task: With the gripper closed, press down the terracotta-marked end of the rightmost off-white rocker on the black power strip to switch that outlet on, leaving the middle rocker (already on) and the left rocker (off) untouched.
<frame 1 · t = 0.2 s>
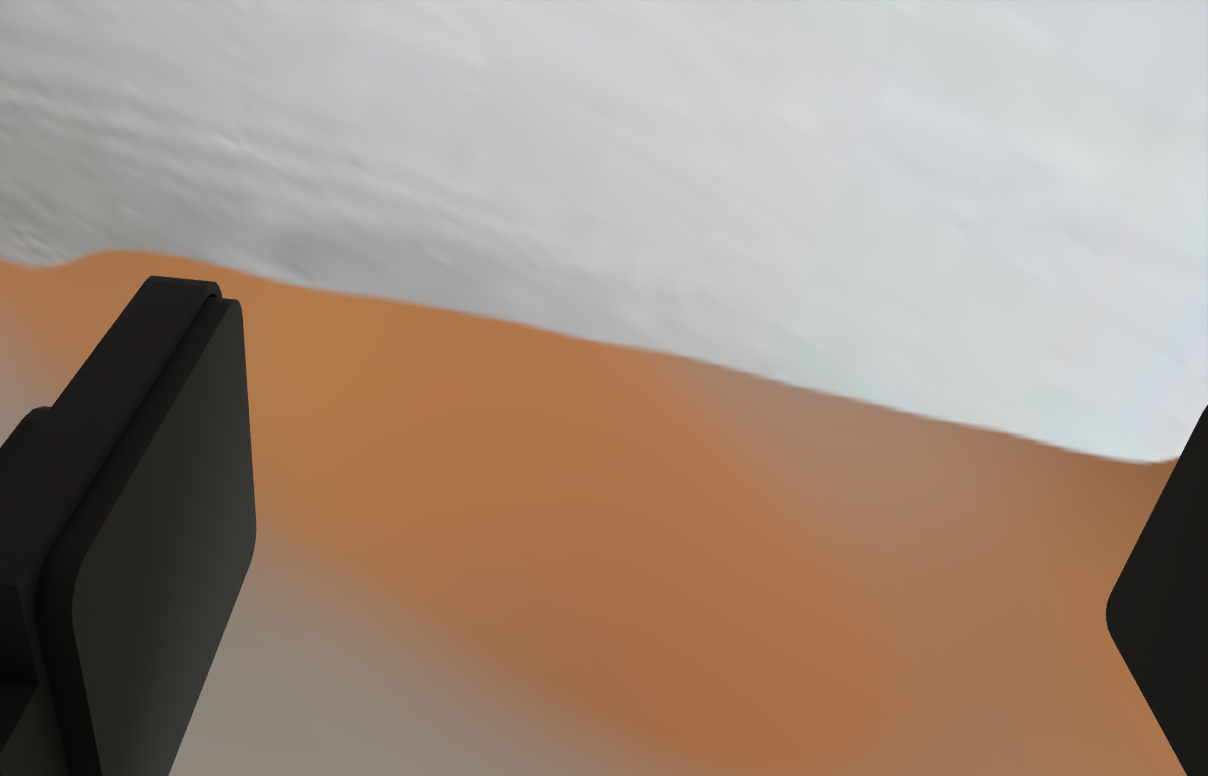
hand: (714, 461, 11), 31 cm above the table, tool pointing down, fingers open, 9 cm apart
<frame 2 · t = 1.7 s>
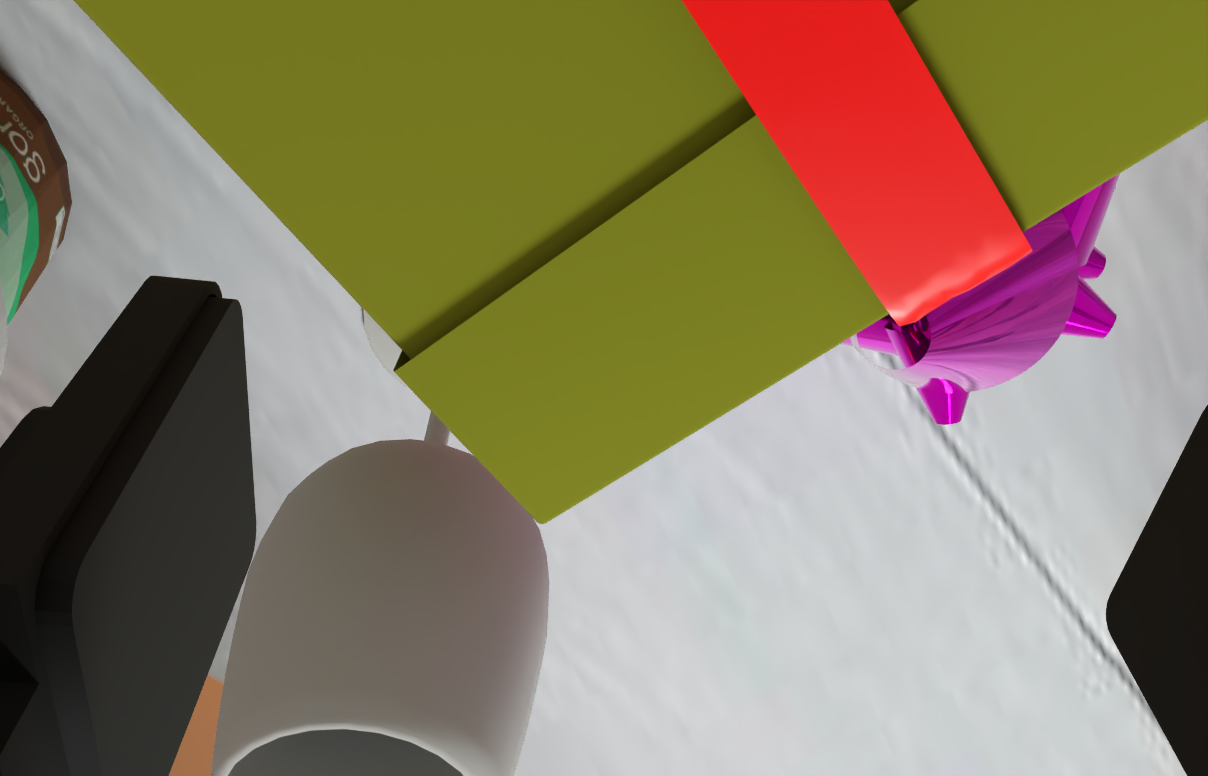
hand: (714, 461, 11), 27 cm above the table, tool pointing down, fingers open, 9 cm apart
wineglass: (462, 317, 40), on the table
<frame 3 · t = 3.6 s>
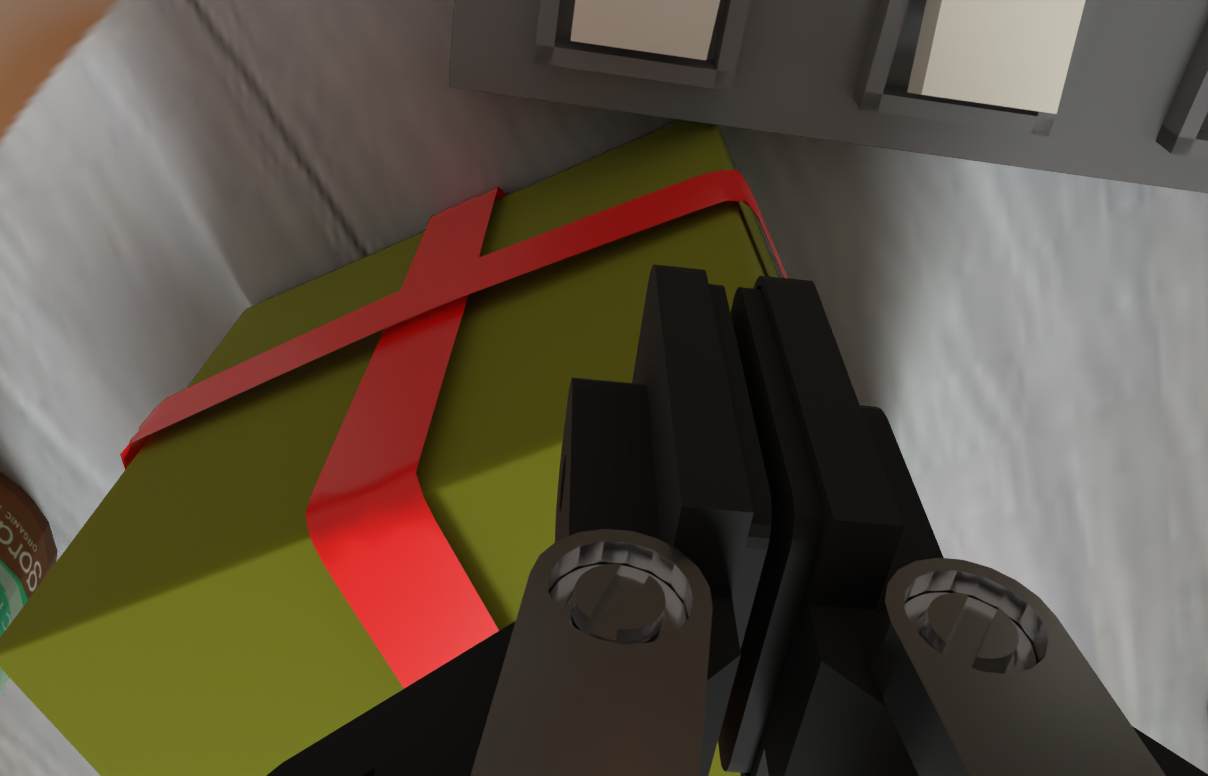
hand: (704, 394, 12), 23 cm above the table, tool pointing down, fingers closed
gift box: (605, 451, 41), on the table
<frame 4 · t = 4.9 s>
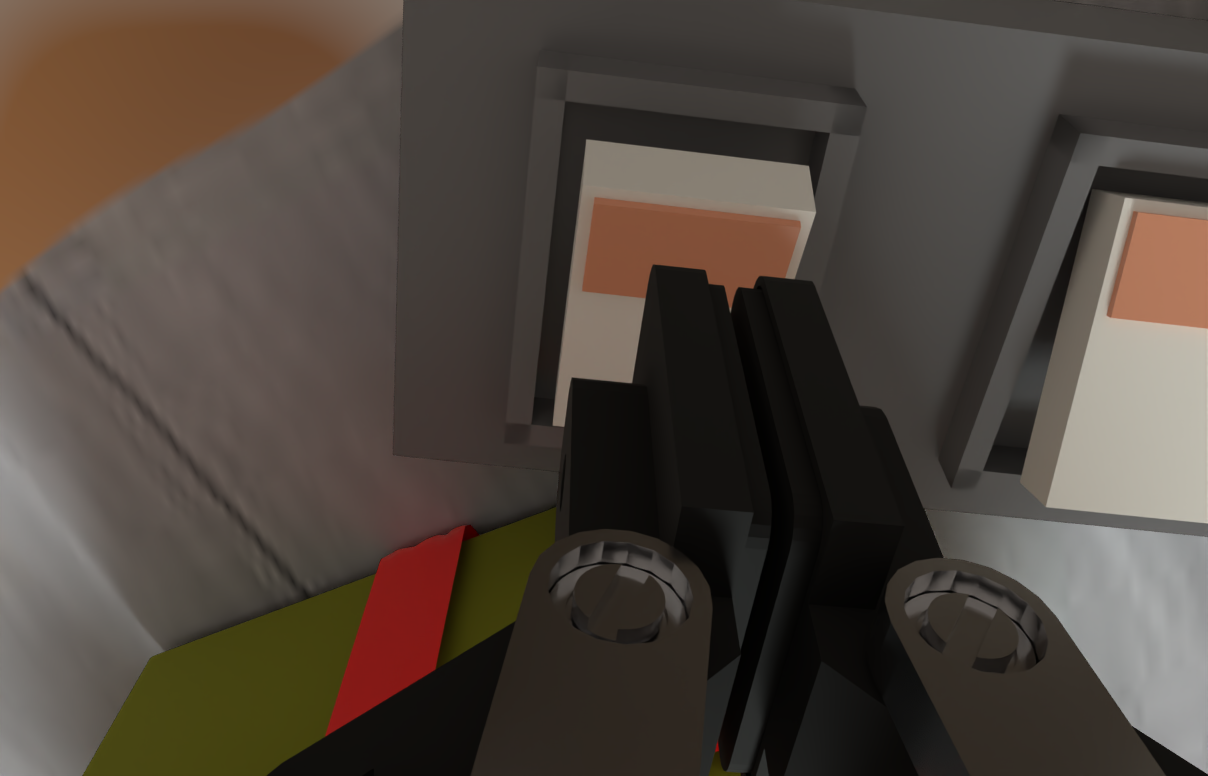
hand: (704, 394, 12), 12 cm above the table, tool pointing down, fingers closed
rocker 2: (1167, 361, 20), point 5 cm above the table, hinge at 15.0°
rocker 3: (670, 309, 19), point 5 cm above the table, hinge at -15.0°
power strip: (1073, 251, 23), on the table
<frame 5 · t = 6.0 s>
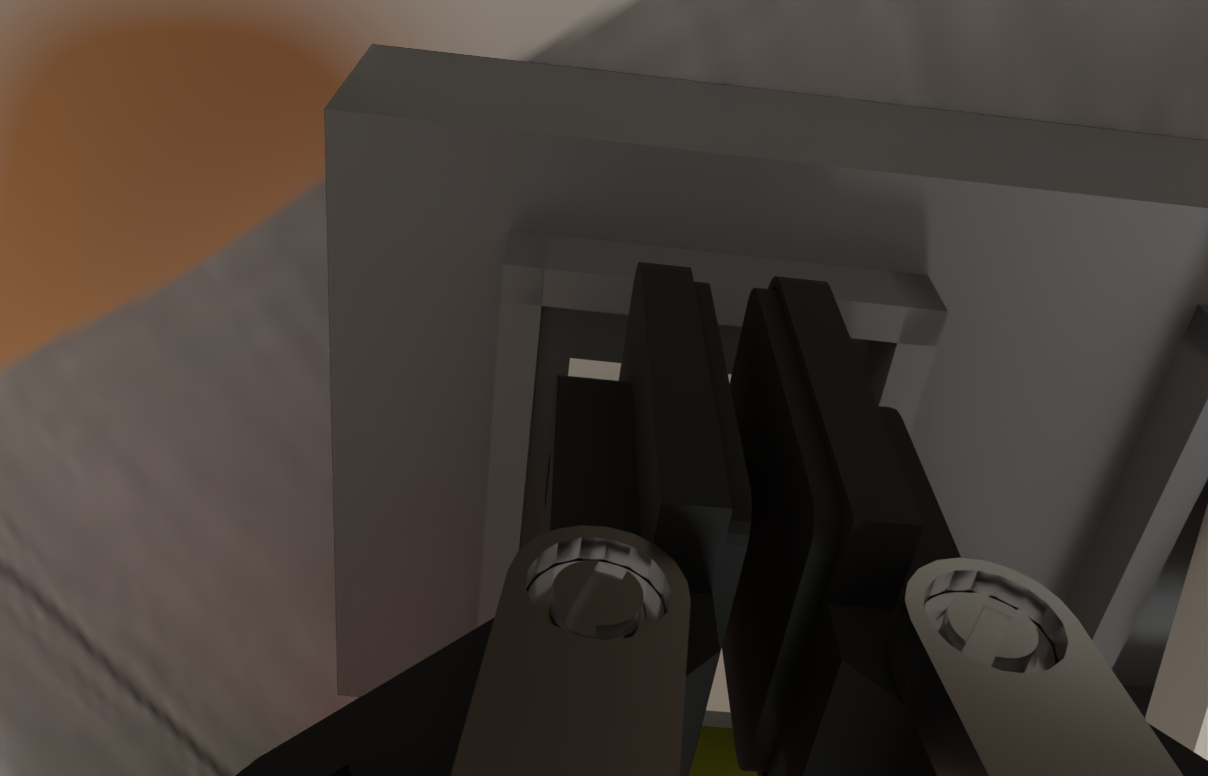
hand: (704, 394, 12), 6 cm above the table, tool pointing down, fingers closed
rocker 3: (684, 561, 14), point 5 cm above the table, hinge at -12.1°, touching gripper
power strip: (1184, 429, 19), on the table
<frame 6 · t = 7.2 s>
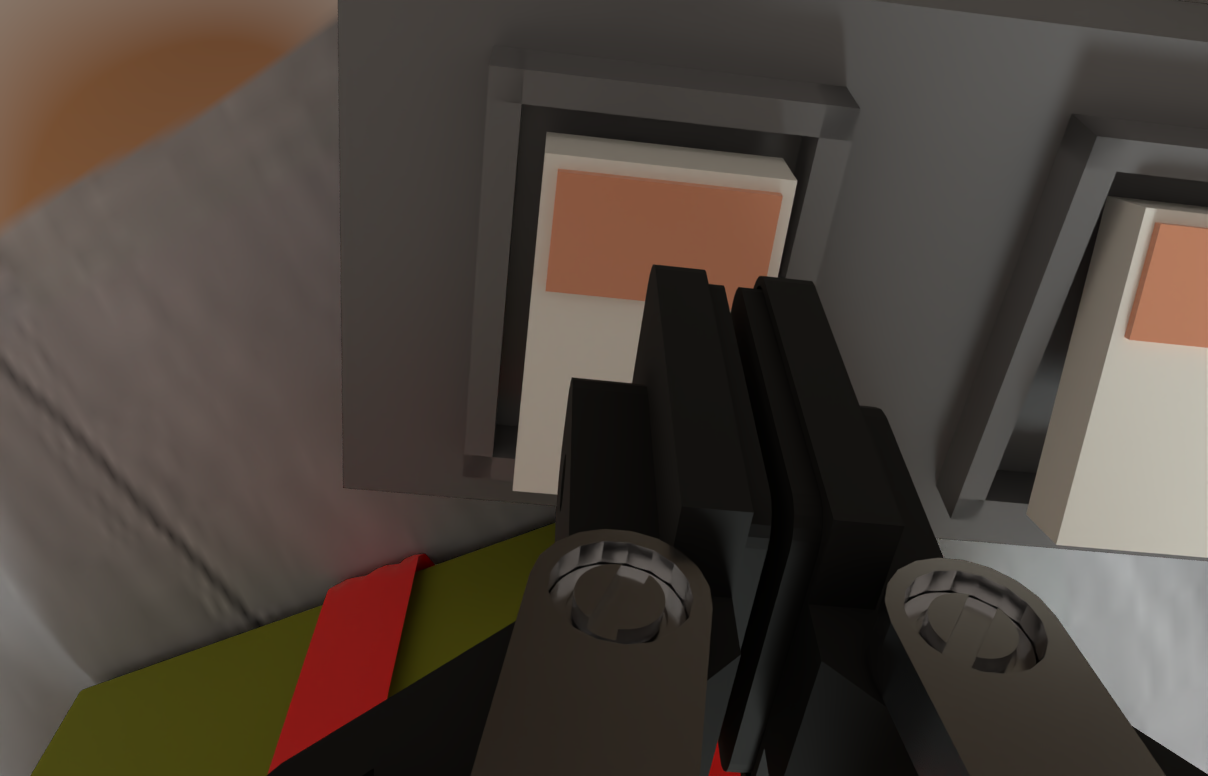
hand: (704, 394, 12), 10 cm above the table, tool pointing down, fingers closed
rocker 2: (1189, 385, 18), point 5 cm above the table, hinge at 15.0°
rocker 3: (643, 332, 17), point 5 cm above the table, hinge at 6.1°
power strip: (1079, 257, 22), on the table
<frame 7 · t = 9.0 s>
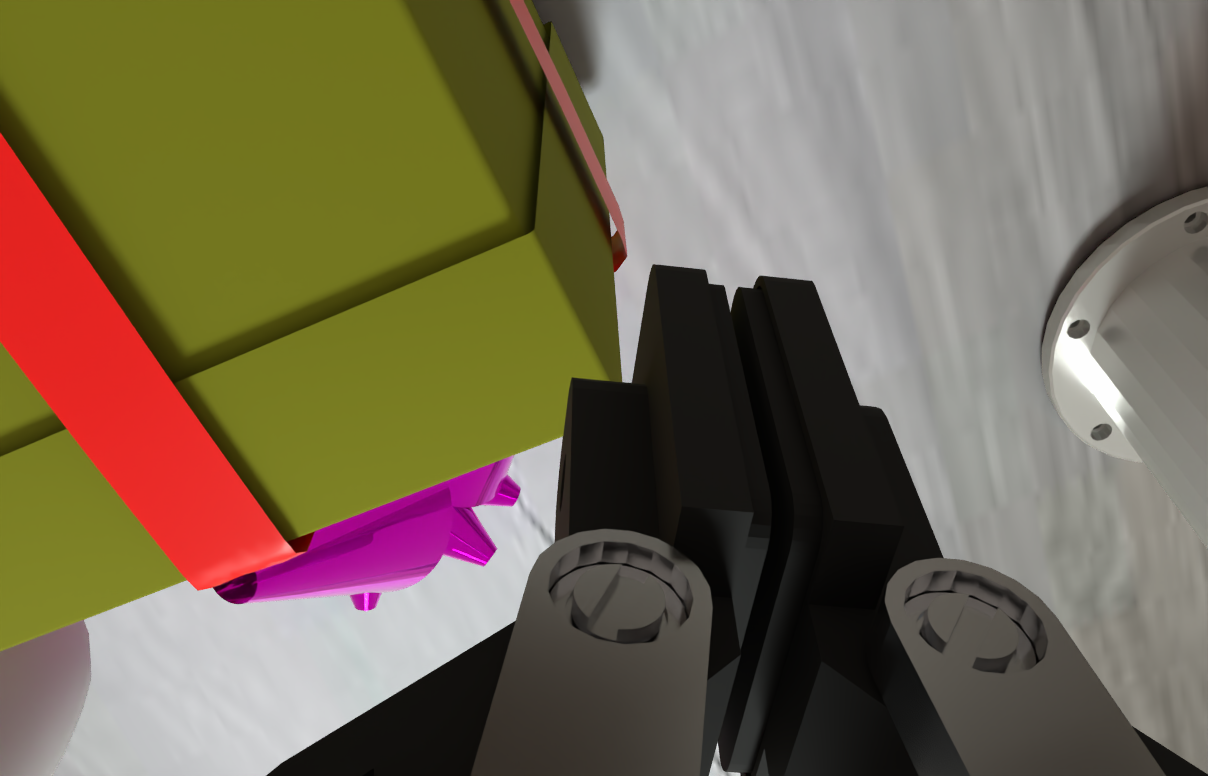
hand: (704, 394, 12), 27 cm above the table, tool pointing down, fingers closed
gift box: (281, 54, 36), on the table
wineglass: (107, 397, 43), on the table
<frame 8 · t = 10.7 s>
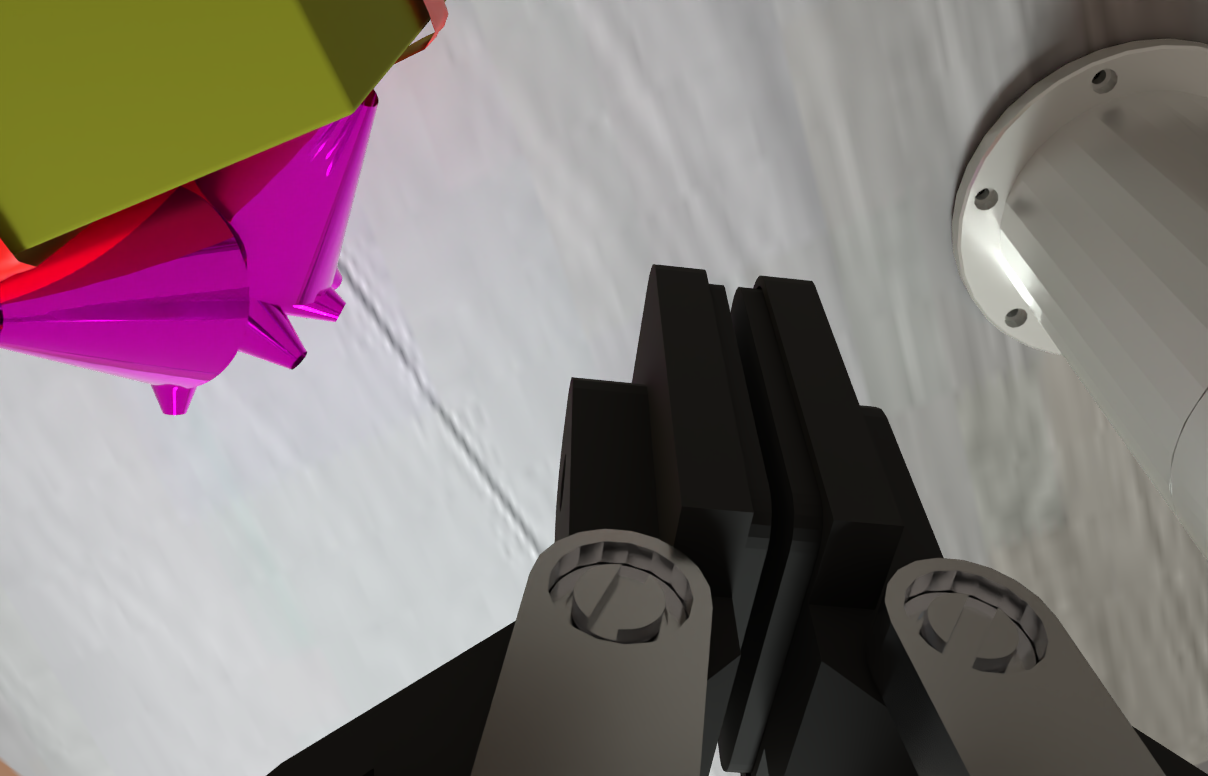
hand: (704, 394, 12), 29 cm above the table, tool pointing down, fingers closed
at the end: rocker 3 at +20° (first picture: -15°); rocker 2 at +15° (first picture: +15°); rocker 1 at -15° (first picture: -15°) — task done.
